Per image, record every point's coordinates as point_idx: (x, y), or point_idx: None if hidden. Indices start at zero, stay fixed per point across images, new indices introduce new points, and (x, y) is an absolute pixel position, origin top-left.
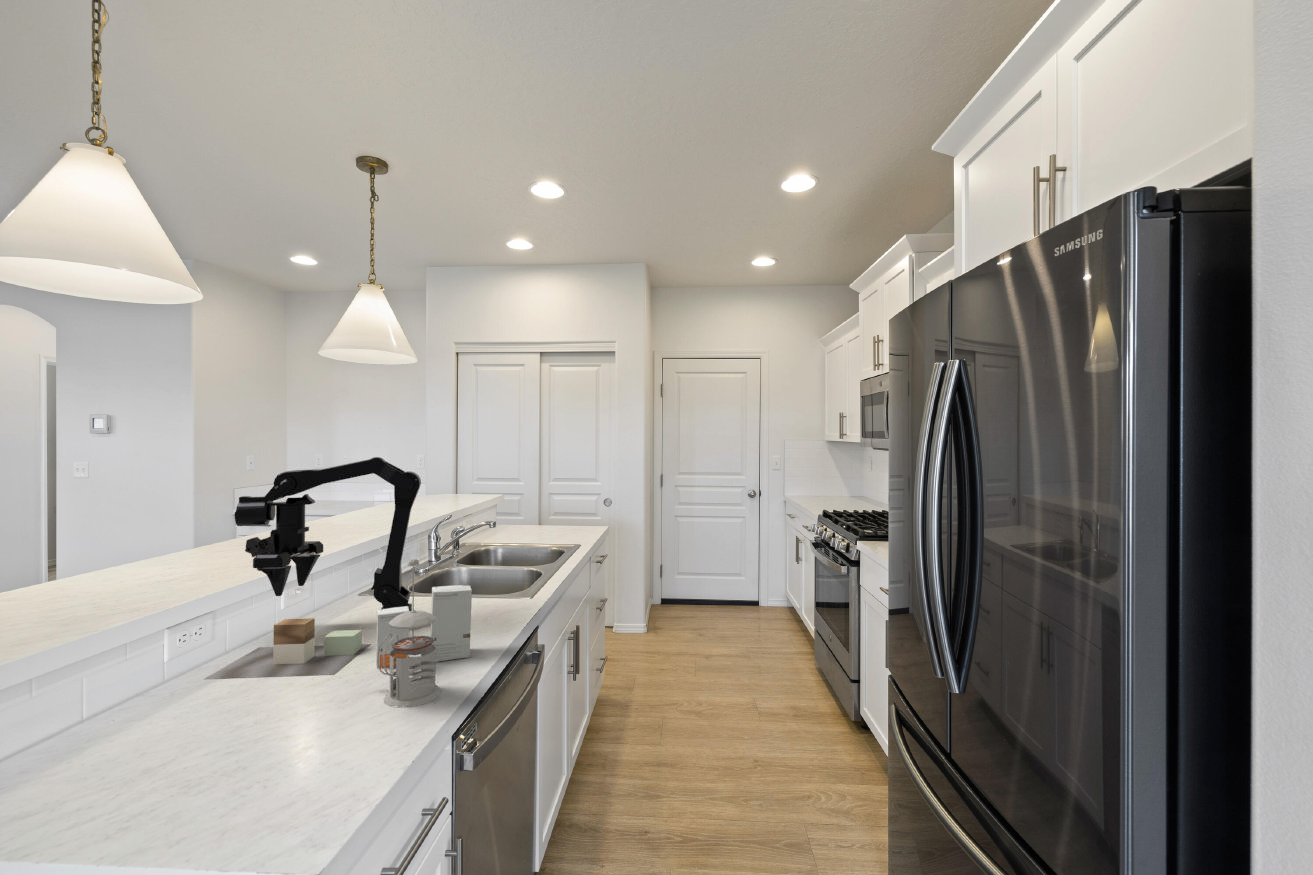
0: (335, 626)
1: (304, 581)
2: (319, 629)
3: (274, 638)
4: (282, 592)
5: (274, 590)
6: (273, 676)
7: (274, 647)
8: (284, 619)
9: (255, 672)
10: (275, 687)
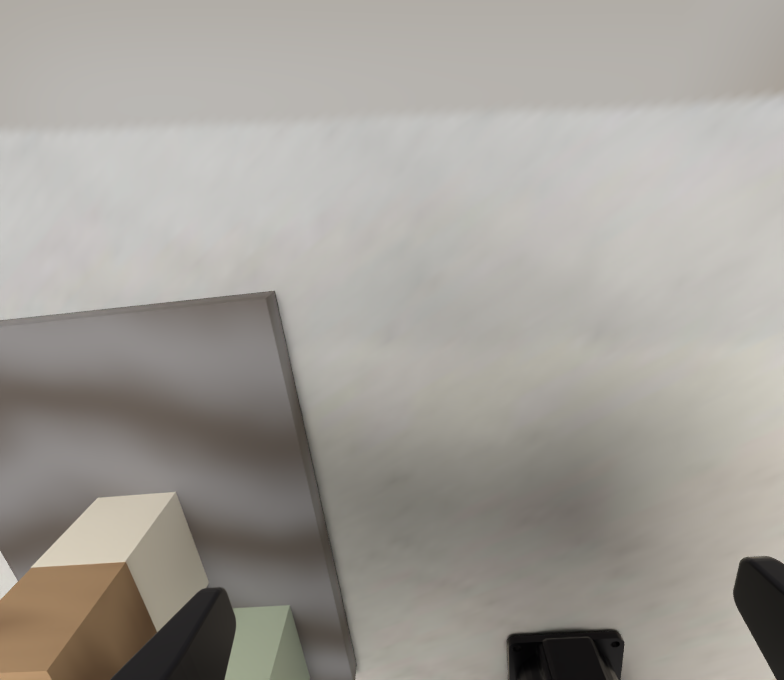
0: (680, 420)
1: (777, 676)
2: (640, 368)
3: (6, 599)
4: (217, 675)
5: (137, 663)
6: (10, 560)
7: (45, 558)
8: (40, 670)
9: (12, 485)
10: (4, 566)
